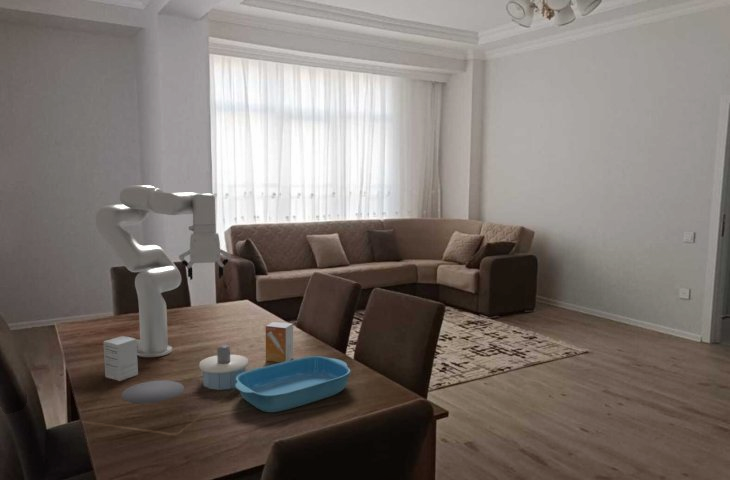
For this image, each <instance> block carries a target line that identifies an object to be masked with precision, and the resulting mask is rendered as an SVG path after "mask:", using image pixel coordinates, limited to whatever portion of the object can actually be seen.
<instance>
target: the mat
mask: <svg viewBox="0 0 730 480" xmlns="http://www.w3.org/2000/svg"><path fill="white" fill-rule="evenodd" d="M184 391H185V386H184V385H183V384H182V383H181V382H179V381H173V380H152V381H151V380H150V381H145V382H142V383H138V384H134V385H131V386H130V387H128V388H126V389H124V390H123V391H122V392H121V395H120V397H121V399H122V400H124V401H125V402H128V403H132V404H152V403H154V404H155V403H158V402H159V403H160V402H164V401H168V400H171V399H173V398H174V399H175V398H176V397H178V396H180V394H182V393H183V392H184Z"/></svg>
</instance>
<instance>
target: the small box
mask: <svg viewBox="0 0 730 480" xmlns="http://www.w3.org/2000/svg"><path fill="white" fill-rule="evenodd" d="M293 358H294V323H289V322H279V321H278V322H277V321H272V322H270V323H268V324H267V325H265V361H268V362H274V363H282V362H286V361H291V360H293Z"/></svg>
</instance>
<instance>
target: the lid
mask: <svg viewBox="0 0 730 480" xmlns="http://www.w3.org/2000/svg"><path fill="white" fill-rule="evenodd" d="M216 354H217V355H213V356H209V357H206V358H203V359H202V360H201V361H200V362H199V369H200V370H201V371H202V372H203V371H205V372H209V373H229V372H235V371H238V370H241V369H243V368H245V369H246V367H248V365H249V359H248V358H247V357H245V356H244V355H239V354H231V346H230V345H229V344H220V345H218V346H217V347H216Z"/></svg>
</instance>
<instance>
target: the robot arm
mask: <svg viewBox="0 0 730 480" xmlns="http://www.w3.org/2000/svg"><path fill="white" fill-rule="evenodd" d="M118 198H119V201H120V202H121V203H118V204H110V205H109V204H108V205H104V206H102V207H100V208H99V209H98V210H97V212H96V214H95V216H94V217H95V218H94V219H95V220H94V221H95V227H96V229H97V232H98V233H99V235H100V237H101V238H102V239H103V240H104V241H105V242H106V243H107V244H108V245H109V246H110V248H111V249H112V250H113V252H114V253H115V254H116V256H117V257H118V258H119V260H120V261H121V263H122V264H123V265H124V267H125V268H126V269H127V270H128V271H130V272H131V273H138V274H137V275H136V276H135V278H134V286H135V290H136V294H137V300H138V316H139V339H136V342H137V357H141V358H158V357H163V356H167V355H169V354H171V353H172V352H173V346H171V345H169V344H168V342H169V341H168V317H167V316H168V314H167V312H168V311H167V303H166V300H165V299H164V297H163V295H162V293H165V292H169V291H172V290H175V289H177V288H178V287H179V286H181V283H182V274H181V272H180V270H179V269H178V266H176V264H175V262H174V261H173V260H172V259H171V258H170V256H169V255H168V253H167V252H166V251H165V250H164V248H162V247H161V246H159V245H157V244H146V245H144V244H142V245H141V244H140V243H139V242H138V241H137V239H135V237H134V235H132V234H131V232H129V231H127V230H126V229H123V227H130V226H131V227H132V226H137V225H139V224H141V223H143V221H144V220H145V219H146V218H147V217H148V216H149V215H150V213H152V212H153V213H155V214H160V215H168V216H170V215H171V216H177V215H178V216H180V215H191V214H192V225H191V226H189V225H188V231H192V232H193V233H191V234H190V236H189V237H190V238H189V249H188V250H186V251H185V252H183V253H181V254H179V256H178V258H179V260H180V262H181V264H182V265H184V266H185V267H186V268H187V278H189V281H192V280H193V278H194V277H193V267H192V266H193V265H194V264H206V263H207V264H210V263H211V264H214V263H217V264H218V265H219V266H218V279H222V277H223V276H224V266H226V265H227V264H228V262H229V260H230V258H231V257H232V254H231V253H230V252H227V251H226V250H223V249H221V243H220V242H221V240H220V236H219V233H218V232H217V229H216V227H217V225H216V224H217V221H216V219H217V218H216V216H217V215H216V196H215V195H214V194H213V193H198V192H193V191H192V192H189V191H188V192H164V191H163V189H161V188H159V187H155V186H153V185H149V184H145V185H142V184H141V185H139V184H138V185H135V184H134V185H133V184H132V185H128V186H125V187H124V188H122V189H121V191H120V192H119V196H118ZM221 254H222V255H223V256H225V258H224V259H223V260H221V256H222V255H221ZM187 256H189V260H190V261H189V262H188V261H187V260H186V259H185V257H187Z"/></svg>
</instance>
